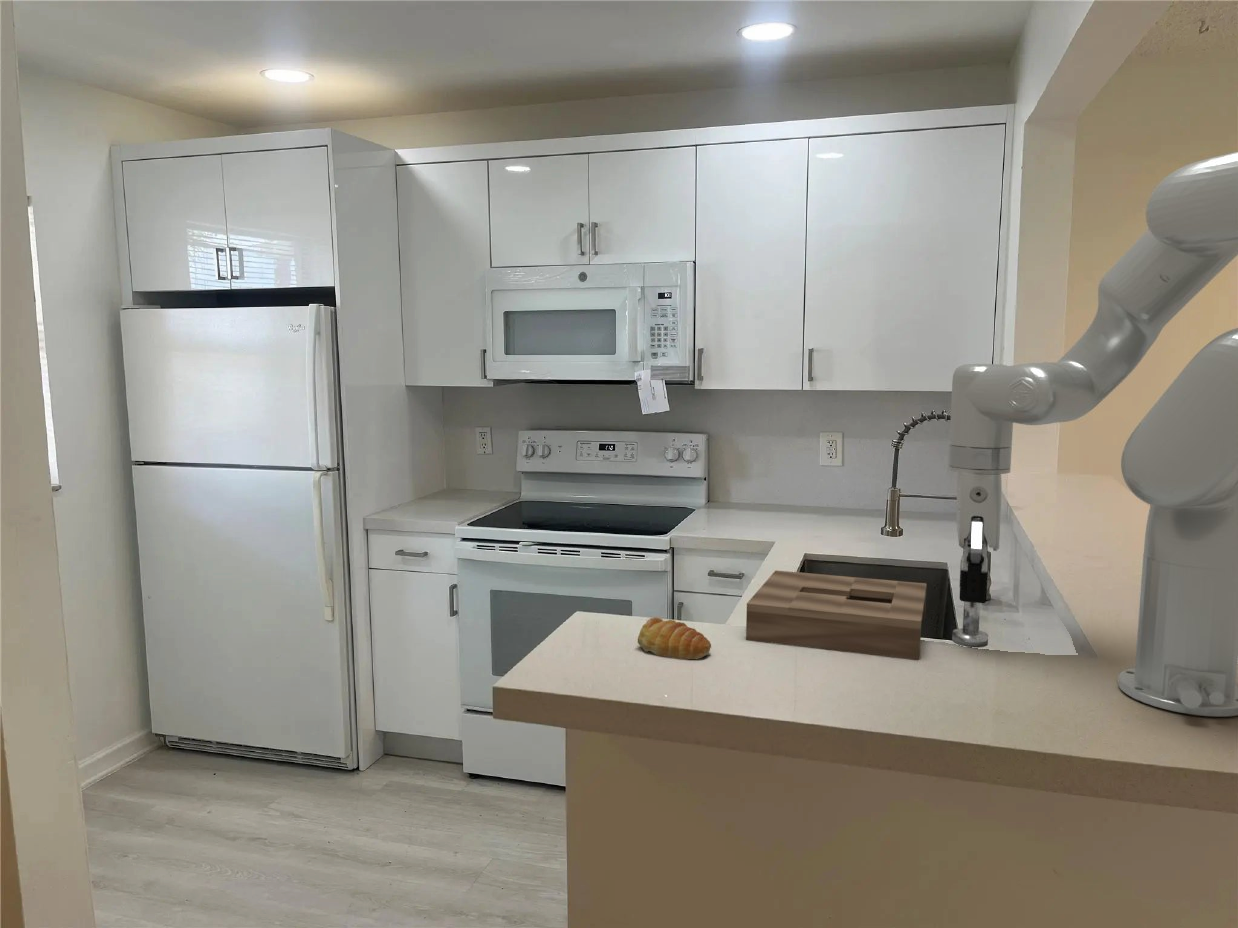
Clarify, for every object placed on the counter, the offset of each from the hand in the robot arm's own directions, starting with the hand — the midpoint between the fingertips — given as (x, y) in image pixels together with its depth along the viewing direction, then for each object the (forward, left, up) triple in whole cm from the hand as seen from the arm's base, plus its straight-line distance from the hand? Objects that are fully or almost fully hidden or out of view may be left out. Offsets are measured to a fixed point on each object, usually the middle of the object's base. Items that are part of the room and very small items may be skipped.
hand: (972, 594), depth 118 cm
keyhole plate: (0, +18, -7) cm, 19 cm away
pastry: (-17, +36, -7) cm, 40 cm away
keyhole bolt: (0, 0, -7) cm, 7 cm away
